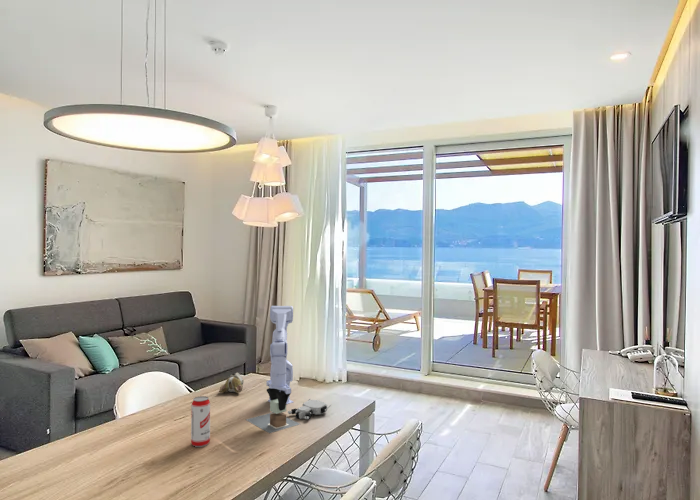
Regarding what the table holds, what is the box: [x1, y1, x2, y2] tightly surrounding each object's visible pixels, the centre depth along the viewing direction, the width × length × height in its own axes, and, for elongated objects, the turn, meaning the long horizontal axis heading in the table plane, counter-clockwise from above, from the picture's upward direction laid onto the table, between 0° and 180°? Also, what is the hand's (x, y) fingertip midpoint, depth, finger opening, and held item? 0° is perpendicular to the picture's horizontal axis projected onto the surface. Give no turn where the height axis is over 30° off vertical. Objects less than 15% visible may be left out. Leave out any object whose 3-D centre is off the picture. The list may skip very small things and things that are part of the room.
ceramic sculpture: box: [218, 371, 245, 394], centre depth 224 cm, size 11×9×15 cm
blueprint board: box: [245, 411, 301, 434], centre depth 184 cm, size 18×14×1 cm
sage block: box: [269, 399, 287, 414], centre depth 181 cm, size 4×4×4 cm
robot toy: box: [287, 398, 332, 420], centre depth 193 cm, size 12×4×15 cm
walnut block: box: [270, 412, 287, 428], centre depth 181 cm, size 4×4×4 cm
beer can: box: [190, 395, 211, 448], centre depth 163 cm, size 6×6×16 cm
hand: (278, 408), depth 181 cm, fingers closed on sage block, 4 cm apart
